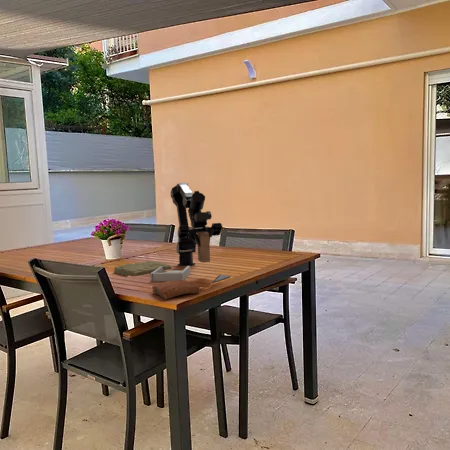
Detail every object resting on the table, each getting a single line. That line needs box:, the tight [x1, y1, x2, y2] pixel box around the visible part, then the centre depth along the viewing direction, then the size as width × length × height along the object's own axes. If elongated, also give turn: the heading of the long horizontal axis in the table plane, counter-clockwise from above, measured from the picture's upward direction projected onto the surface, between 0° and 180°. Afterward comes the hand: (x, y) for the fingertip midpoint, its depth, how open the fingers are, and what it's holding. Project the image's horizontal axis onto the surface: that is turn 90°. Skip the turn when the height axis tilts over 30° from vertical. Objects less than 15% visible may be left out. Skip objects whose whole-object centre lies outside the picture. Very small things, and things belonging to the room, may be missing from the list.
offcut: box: [164, 270, 183, 273], centre depth 191 cm, size 5×6×2 cm
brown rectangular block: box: [197, 232, 211, 264], centre depth 185 cm, size 6×4×12 cm, turn 19°
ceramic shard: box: [151, 280, 201, 301], centre depth 164 cm, size 15×6×15 cm
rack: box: [149, 265, 191, 282], centre depth 187 cm, size 15×13×4 cm
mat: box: [211, 274, 231, 284], centre depth 186 cm, size 12×12×1 cm
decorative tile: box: [113, 260, 172, 277], centre depth 206 cm, size 19×20×4 cm
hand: (204, 245), depth 183 cm, fingers closed on brown rectangular block, 3 cm apart
